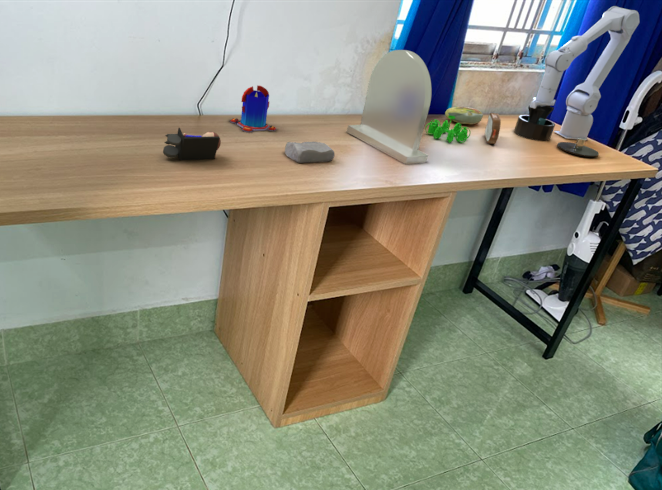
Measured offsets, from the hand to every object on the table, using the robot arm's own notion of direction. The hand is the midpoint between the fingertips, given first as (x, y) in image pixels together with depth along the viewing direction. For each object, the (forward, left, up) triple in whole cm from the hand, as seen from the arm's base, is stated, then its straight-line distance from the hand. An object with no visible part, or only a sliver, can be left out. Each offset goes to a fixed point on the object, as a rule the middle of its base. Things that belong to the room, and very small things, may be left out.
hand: (534, 126), depth 221 cm
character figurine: (+126, +43, -3) cm, 133 cm away
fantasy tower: (+105, +12, -3) cm, 106 cm away
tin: (+23, +10, -3) cm, 25 cm away
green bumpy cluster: (+39, +10, -3) cm, 40 cm away
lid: (-8, +16, -2) cm, 18 cm away
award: (+66, +24, -3) cm, 70 cm away
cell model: (+23, -10, -3) cm, 25 cm away
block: (0, 0, -1) cm, 1 cm away
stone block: (+94, +37, -3) cm, 101 cm away
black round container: (0, 0, -3) cm, 3 cm away
